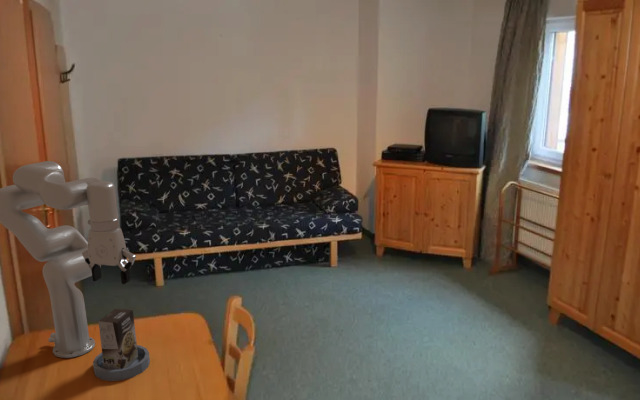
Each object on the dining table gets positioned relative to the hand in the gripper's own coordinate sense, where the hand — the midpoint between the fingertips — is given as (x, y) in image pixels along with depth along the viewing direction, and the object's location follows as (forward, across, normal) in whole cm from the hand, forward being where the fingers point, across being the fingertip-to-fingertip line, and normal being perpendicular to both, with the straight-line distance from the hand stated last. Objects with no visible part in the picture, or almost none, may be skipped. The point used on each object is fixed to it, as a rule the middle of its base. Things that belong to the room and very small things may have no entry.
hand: (111, 281), depth 165 cm
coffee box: (+27, 0, 0) cm, 27 cm away
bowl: (+28, 0, 0) cm, 28 cm away
